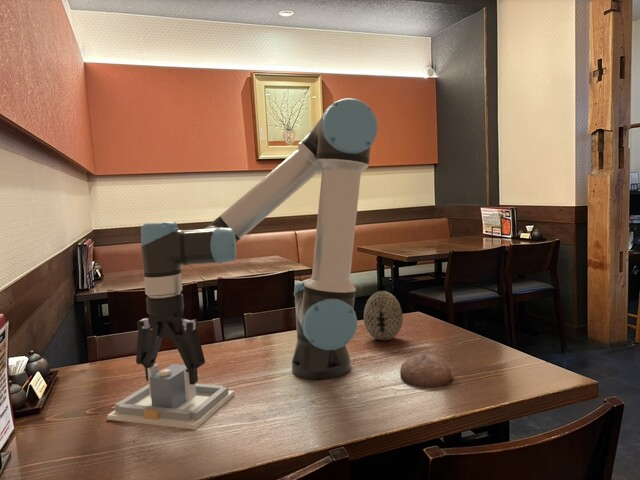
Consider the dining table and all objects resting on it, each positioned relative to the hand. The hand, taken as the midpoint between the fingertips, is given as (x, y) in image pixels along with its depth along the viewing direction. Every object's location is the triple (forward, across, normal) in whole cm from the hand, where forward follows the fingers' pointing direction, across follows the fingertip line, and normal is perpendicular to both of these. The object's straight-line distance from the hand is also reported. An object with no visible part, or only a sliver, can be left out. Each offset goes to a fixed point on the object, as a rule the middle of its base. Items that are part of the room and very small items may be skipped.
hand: (173, 396), depth 99 cm
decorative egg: (+3, -38, -53) cm, 65 cm away
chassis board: (+2, 0, 0) cm, 2 cm away
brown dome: (+3, -52, -26) cm, 58 cm away
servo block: (+1, 0, 0) cm, 1 cm away
